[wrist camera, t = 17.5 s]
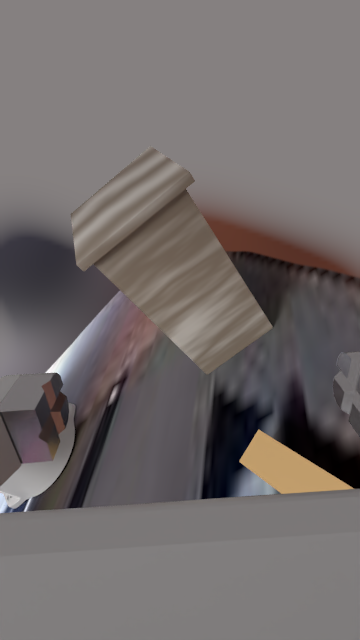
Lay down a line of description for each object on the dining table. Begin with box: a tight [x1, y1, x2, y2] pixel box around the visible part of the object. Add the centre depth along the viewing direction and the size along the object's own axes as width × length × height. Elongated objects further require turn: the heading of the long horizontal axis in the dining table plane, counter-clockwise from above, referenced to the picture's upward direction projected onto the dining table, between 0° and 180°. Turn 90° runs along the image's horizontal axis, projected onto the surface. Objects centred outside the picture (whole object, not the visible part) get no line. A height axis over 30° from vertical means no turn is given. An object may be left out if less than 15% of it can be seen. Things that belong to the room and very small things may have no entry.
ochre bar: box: [239, 430, 354, 494], centre depth 28 cm, size 22×4×4 cm, turn 47°
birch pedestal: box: [71, 147, 273, 375], centre depth 45 cm, size 16×14×26 cm
